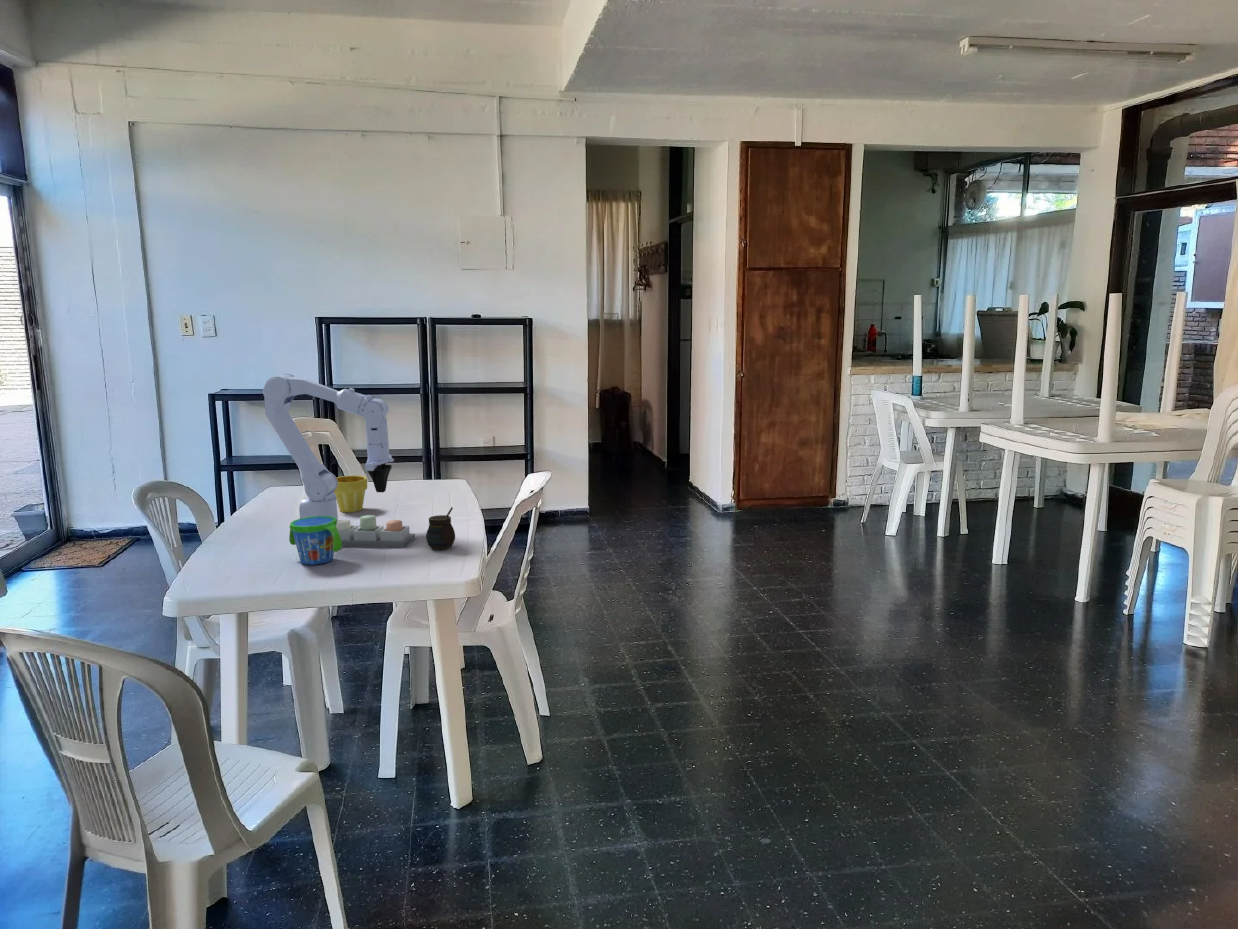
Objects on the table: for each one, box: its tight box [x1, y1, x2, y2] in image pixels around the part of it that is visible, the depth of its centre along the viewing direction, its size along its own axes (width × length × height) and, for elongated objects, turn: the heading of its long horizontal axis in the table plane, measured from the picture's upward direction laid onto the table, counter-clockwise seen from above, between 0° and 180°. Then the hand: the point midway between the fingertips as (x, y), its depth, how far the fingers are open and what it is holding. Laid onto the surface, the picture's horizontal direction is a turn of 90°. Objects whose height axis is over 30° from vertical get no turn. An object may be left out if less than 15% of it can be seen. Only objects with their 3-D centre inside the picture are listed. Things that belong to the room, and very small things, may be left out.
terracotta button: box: [385, 519, 403, 531], centre depth 217 cm, size 4×4×4 cm
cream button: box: [336, 519, 352, 531], centre depth 218 cm, size 4×4×4 cm
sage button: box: [359, 514, 377, 531], centre depth 217 cm, size 4×4×4 cm
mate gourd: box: [425, 506, 456, 551], centre depth 211 cm, size 7×8×10 cm
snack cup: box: [288, 516, 343, 566], centre depth 201 cm, size 16×10×10 cm
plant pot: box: [334, 475, 368, 513], centre depth 253 cm, size 10×10×10 cm
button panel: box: [338, 525, 416, 549], centre depth 218 cm, size 22×9×4 cm, turn 85°
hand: (381, 491), depth 230 cm, fingers closed
